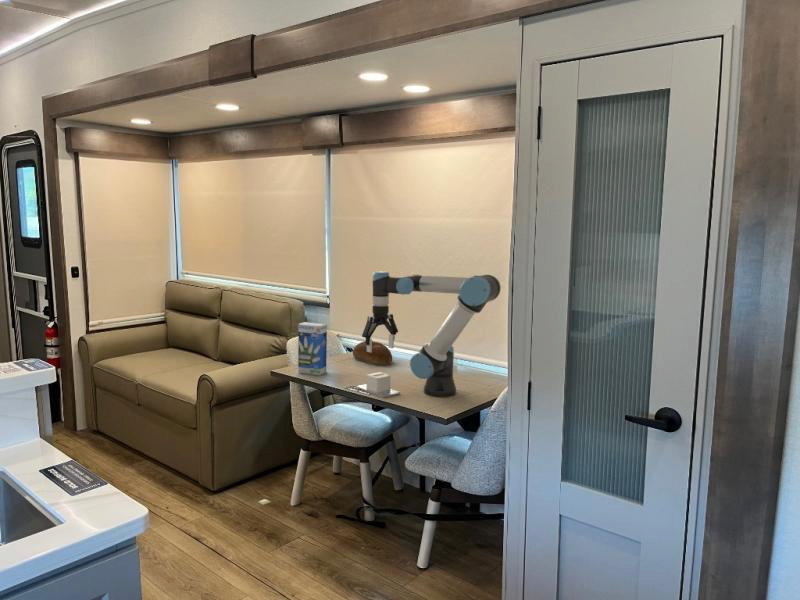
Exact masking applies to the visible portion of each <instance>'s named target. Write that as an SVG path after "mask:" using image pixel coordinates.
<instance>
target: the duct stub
mask: <svg viewBox="0 0 800 600" xmlns="http://www.w3.org/2000/svg"><path fill="white" fill-rule="evenodd" d="M356 389H358V390H360V389H361V390H360V391H363V392H365V393H369V394H371V395H373V396H377V397H379V398H382V399H385V398H389V397H393V396H398V395H401V391H398V390H395V389H392V388H390V390H386V391H382V392H374V391H371V390H369V389H366V383H365V384H361V385H356Z"/></svg>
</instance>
